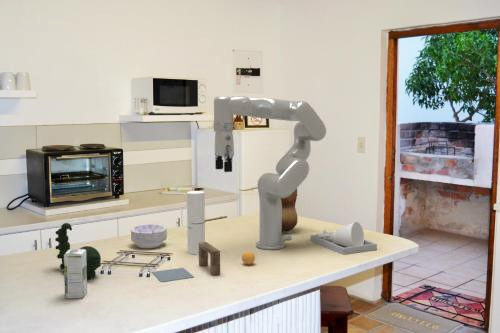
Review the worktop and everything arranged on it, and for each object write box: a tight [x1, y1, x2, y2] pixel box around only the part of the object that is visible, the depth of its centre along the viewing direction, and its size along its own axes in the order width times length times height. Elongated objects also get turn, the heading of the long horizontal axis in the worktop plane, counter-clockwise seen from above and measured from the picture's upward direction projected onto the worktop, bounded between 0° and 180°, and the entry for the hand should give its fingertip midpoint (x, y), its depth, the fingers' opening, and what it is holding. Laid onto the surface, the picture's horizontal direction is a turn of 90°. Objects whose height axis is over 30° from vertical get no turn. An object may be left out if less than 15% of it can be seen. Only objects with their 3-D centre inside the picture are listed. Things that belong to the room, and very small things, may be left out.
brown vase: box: [281, 188, 298, 233], centre depth 256 cm, size 14×13×25 cm
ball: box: [241, 250, 256, 266], centre depth 204 cm, size 5×5×5 cm
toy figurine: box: [54, 222, 102, 280], centre depth 191 cm, size 9×19×25 cm
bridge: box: [198, 241, 221, 277], centre depth 197 cm, size 3×14×9 cm, turn 26°
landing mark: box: [151, 267, 195, 283], centre depth 192 cm, size 12×12×1 cm
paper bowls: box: [130, 223, 168, 250], centre depth 231 cm, size 15×15×8 cm
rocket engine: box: [318, 221, 365, 248], centre depth 232 cm, size 12×12×18 cm
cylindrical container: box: [186, 190, 206, 255], centre depth 221 cm, size 7×7×25 cm
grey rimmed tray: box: [309, 232, 378, 256], centre depth 233 cm, size 17×25×2 cm
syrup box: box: [63, 248, 88, 300], centre depth 170 cm, size 6×6×14 cm
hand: (223, 170), depth 216 cm, fingers open, 9 cm apart
